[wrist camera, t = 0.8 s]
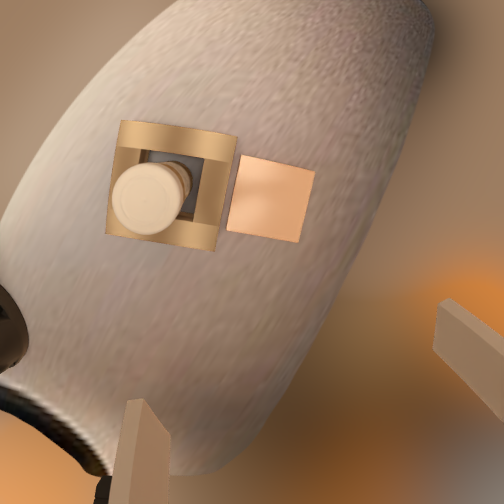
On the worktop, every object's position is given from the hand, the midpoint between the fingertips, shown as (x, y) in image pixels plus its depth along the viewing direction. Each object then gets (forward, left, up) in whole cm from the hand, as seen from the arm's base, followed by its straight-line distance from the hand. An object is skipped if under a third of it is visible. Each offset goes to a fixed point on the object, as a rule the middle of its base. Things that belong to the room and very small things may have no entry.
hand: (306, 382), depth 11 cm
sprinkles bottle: (-9, +4, -23) cm, 25 cm away
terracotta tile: (+2, +4, -23) cm, 23 cm away
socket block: (-9, +4, -23) cm, 25 cm away
